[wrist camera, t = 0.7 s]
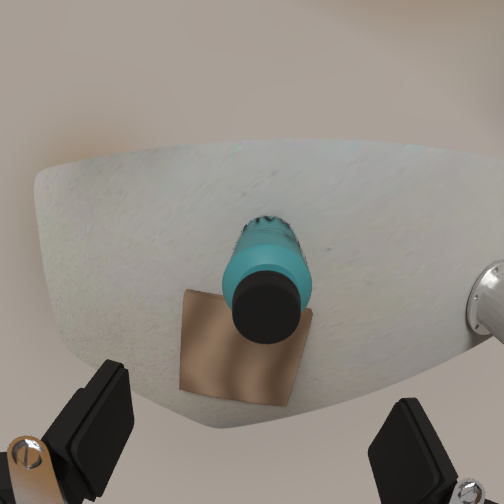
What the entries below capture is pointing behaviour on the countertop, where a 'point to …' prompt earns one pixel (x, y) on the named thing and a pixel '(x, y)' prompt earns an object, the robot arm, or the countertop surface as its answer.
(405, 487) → the robot arm
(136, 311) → the countertop surface
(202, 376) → the walnut board
